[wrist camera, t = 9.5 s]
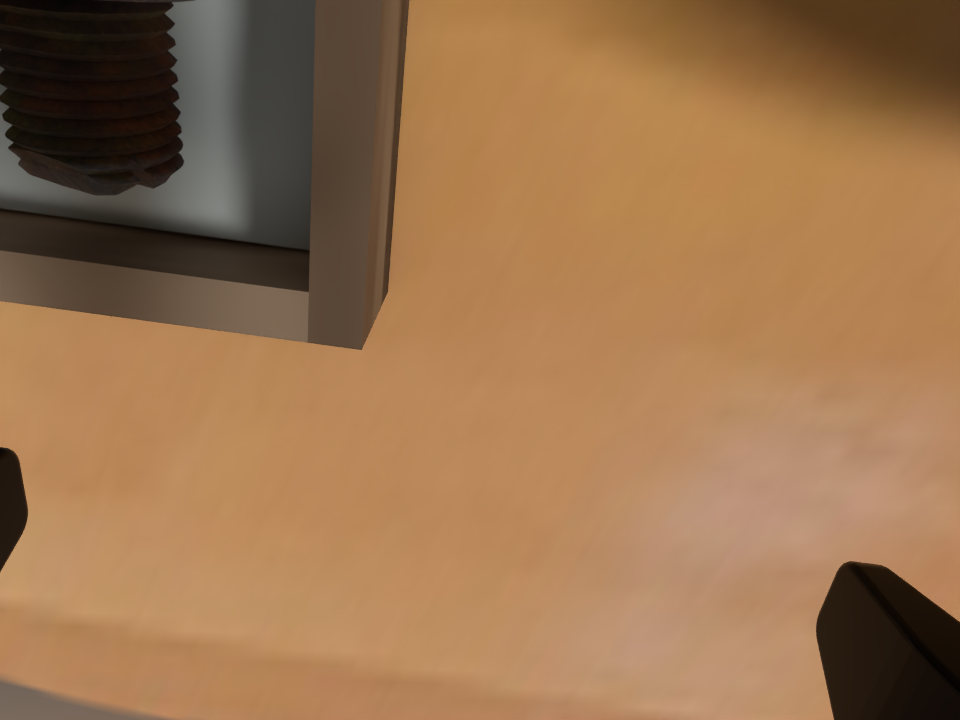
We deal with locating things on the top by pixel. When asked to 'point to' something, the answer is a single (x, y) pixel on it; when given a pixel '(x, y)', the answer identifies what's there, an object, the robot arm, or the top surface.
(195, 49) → the wooden tray
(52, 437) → the top surface
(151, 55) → the bolt
